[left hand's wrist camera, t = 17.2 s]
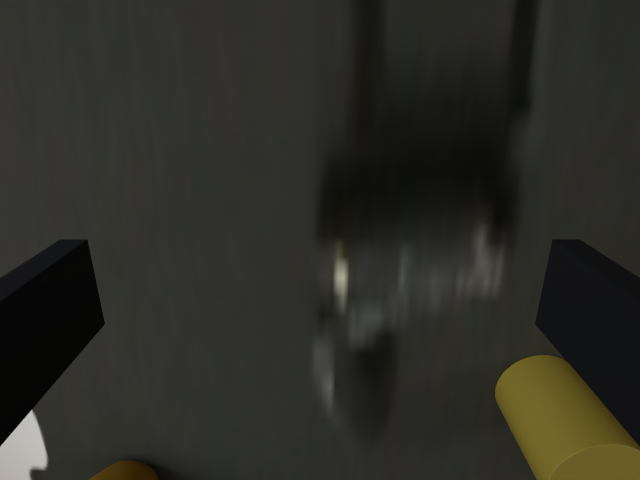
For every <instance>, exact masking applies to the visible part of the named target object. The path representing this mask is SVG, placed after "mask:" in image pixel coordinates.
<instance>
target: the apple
mask: <svg viewBox="0 0 640 480" xmlns="http://www.w3.org/2000/svg"><path fill="white" fill-rule="evenodd" d="M89 480H159V479H158V476H157V474H156V472H155V470H154V469H153V468H151V467H150V466H148V465H147V464H146V463H143V462H139V461H135V460H125V461H118V462H116V463H114V464H112V465H110V466H109V467H107V468H106V469H104V470H103V471H101V472H100V473H98V474H97V475H95V476H94V477H92V478H91V479H89Z"/></svg>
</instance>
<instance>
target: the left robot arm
mask: <svg viewBox="0 0 640 480" xmlns="http://www.w3.org/2000/svg"><path fill="white" fill-rule="evenodd" d="M104 324H105V322H104V318H103V313H102V308H101V303H100V298H99V293H98V289H97V284H96V279H95V274H94V269H93V265H92V260H91V255H90V250H89V245H88V240H59V241H57V242H56V243H54V244H53V245H51V246H50V247H48V248H46V249H45V250H43V251H42V252H40V253H39V254H37V255H36V256H34V257H32V258H31V259H29V260H28V261H26V262H25V263H23V264H22V265H20V266H18V267H17V268H15V269H14V270H12V271H11V272H9V273H8V274H6V275H4V276H3V277H1V278H0V446H1V445H2V444H3V442H4V441H5V440H6V439H7V438H8V437H9V435H10V434H11V433H12V432H13V431H14V430H15V428H16V427H17V426H18V425H19V424H20V423H21V421H22V420H23V419H24V418H25V417H26V416H27V414H28V413H29V412H30V411H31V410H32V409H33V407H34V406H35V405H36V404H37V403H38V402H39V400H40V399H41V398H42V397H43V396H44V395H45V393H46V392H47V391H48V390H49V389H50V388H51V386H52V385H53V384H54V383H55V382H56V380H57V379H58V378H59V377H60V376H61V375H62V373H63V372H64V371H65V370H66V369H67V368H68V366H69V365H70V364H71V363H72V362H73V361H74V359H75V358H76V357H77V356H78V355H79V354H80V352H81V351H82V350H83V349H84V348H85V347H86V345H87V344H88V343H89V342H90V341H91V340H92V338H93V337H94V336H95V335H96V334H97V333H98V331H99V330H100V329H101V328H102V327H103V326H104ZM535 324H536V326H537V327H538V328H539V329H540V330H541V331H542V333H543V334H544V335H545V336H546V337H547V338H548V340H549V341H550V342H551V343H552V344H553V345H554V347H555V348H556V349H557V350H558V351H559V352H560V354H561V355H562V356H563V357H564V358H565V359H566V361H567V362H568V363H569V364H570V365H571V366H572V368H573V369H574V370H575V371H576V372H577V373H578V375H579V376H580V377H581V378H582V379H583V380H584V382H585V383H586V384H587V385H588V386H589V388H590V389H591V390H592V391H593V392H594V393H595V395H596V396H597V397H598V398H599V399H600V400H601V402H602V403H603V404H604V405H605V406H606V407H607V409H608V410H609V411H610V412H611V413H612V414H613V416H614V417H615V418H616V419H617V420H618V421H619V423H620V424H621V425H622V426H623V427H624V428H625V430H626V431H627V432H628V433H629V434H630V435H631V437H632V438H633V439H634V440H635V441H636V442H637V444H638V445H639V446H640V278H639V277H637V276H636V275H634V274H632V273H631V272H629V271H628V270H626V269H625V268H623V267H622V266H620V265H618V264H617V263H615V262H614V261H612V260H611V259H609V258H608V257H606V256H604V255H603V254H601V253H600V252H598V251H597V250H595V249H594V248H592V247H590V246H589V245H587V244H586V243H584V242H583V241H581V240H552V245H551V250H550V255H549V260H548V264H547V269H546V274H545V279H544V284H543V289H542V293H541V298H540V303H539V308H538V313H537V318H536V322H535Z"/></svg>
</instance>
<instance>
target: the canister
mask: <svg viewBox="0 0 640 480" xmlns="http://www.w3.org/2000/svg"><path fill="white" fill-rule="evenodd" d="M495 398H496V402H497V404H498V406H499V408H500V410H501V412H502V414H503V416H504V418H505V419H506V421H507V423H508V425H509V427H510V429H511V431H512V433H513V435H514V437H515V439H516V441H517V443H518V444H519V446H520V448H521V450H522V452H523V454H524V456H525V458H526V460H527V462H528V464H529V466H530V467H531V469H532V471H533V473H534V475H535V477H536V479H537V480H640V447H639V446H638V444H637V443H636V442H635V441H634V440H633V438H632V437H631V436H630V435H629V434H628V432H627V431H626V430H625V429H624V428H623V426H622V425H621V424H620V423H619V422H618V421H617V419H616V418H615V417H614V416H613V415H612V413H611V412H610V411H609V410H608V409H607V407H606V406H605V405H604V404H603V403H602V402H601V400H600V399H599V398H598V397H597V396H596V395H595V393H594V392H593V391H592V390H591V389H590V388H589V386H588V385H587V384H586V383H585V382H584V380H583V379H582V378H581V377H580V376H579V375H578V373H577V372H576V371H575V370H574V369H573V368H572V366H571V365H570V364H569V363H568V362H567V361H565V360H563V359H561V358H558V357H555V356H550V355H536V356H531V357H527V358H524V359H522V360H520V361H518V362H516V363H514V364H513V365H511V366H510V367H509V368H508V369H506V370H505V372H504V373H503V374H502V375H501V377H500V378H499V380H498V382H497V385H496V389H495Z"/></svg>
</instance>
